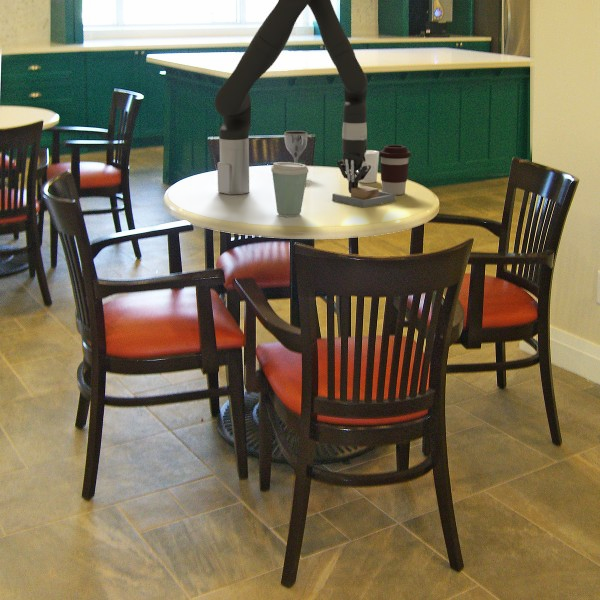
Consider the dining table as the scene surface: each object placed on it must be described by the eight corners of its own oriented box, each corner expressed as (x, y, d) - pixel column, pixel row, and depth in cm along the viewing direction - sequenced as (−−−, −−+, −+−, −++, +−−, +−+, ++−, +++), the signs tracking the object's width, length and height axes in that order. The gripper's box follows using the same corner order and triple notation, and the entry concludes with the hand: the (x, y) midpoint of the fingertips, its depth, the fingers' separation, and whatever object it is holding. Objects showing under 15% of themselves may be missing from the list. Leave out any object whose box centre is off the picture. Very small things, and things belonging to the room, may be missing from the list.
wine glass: (307, 177, 309) (307, 133, 304) (284, 177, 309) (284, 133, 304) (307, 173, 316) (307, 130, 312) (284, 173, 316) (284, 130, 312)
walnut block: (364, 204, 269) (365, 191, 268) (350, 201, 273) (351, 188, 272) (378, 201, 273) (378, 188, 272) (364, 198, 277) (364, 185, 276)
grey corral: (363, 207, 264) (363, 200, 263) (332, 200, 273) (332, 193, 273) (395, 200, 273) (395, 194, 272) (364, 194, 282) (364, 187, 282)
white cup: (376, 183, 298) (377, 154, 295) (353, 182, 300) (354, 153, 296) (379, 179, 306) (380, 150, 302) (356, 178, 307) (357, 149, 304)
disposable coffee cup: (287, 209, 261) (287, 158, 257) (316, 214, 255) (316, 162, 250) (263, 215, 254) (263, 163, 249) (292, 221, 247) (292, 167, 242)
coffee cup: (413, 191, 286) (415, 145, 281) (403, 197, 277) (405, 149, 272) (384, 189, 290) (385, 143, 285) (373, 194, 281) (374, 147, 276)
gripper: (330, 135, 273) (329, 191, 278) (361, 140, 263) (359, 198, 269) (347, 133, 277) (346, 188, 283) (378, 138, 268) (376, 194, 274)
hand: (353, 193), depth 276 cm, fingers closed
